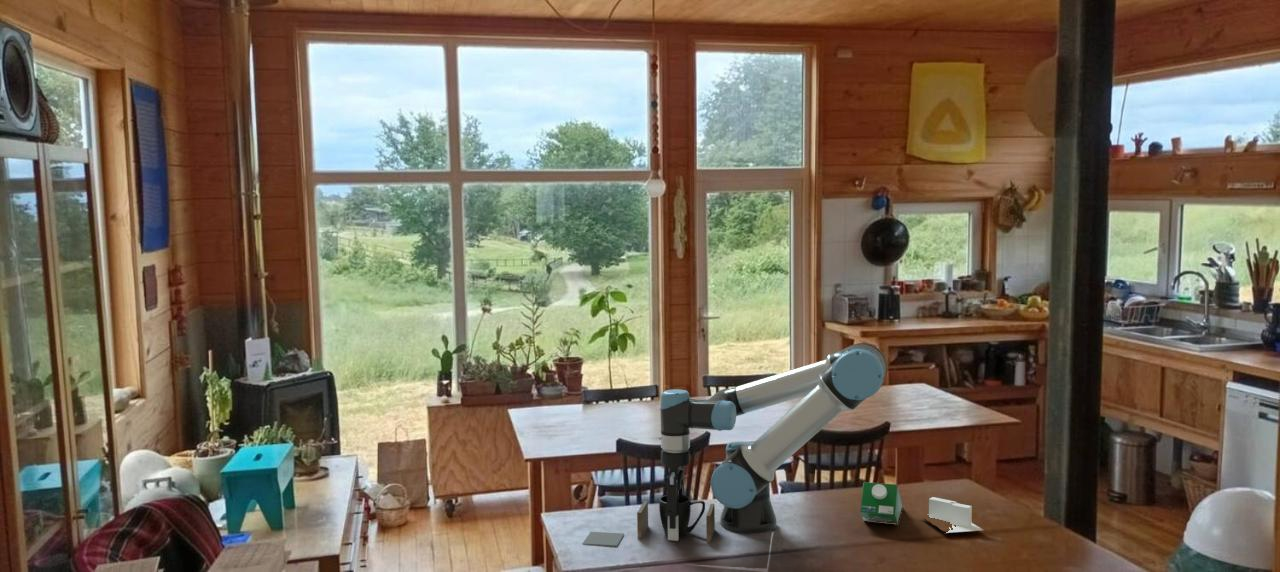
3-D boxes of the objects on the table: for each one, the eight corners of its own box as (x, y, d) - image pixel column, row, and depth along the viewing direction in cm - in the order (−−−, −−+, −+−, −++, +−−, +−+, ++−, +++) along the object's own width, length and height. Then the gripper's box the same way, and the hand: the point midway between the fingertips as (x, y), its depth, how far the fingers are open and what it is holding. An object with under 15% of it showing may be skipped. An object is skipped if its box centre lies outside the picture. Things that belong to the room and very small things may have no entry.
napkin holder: (917, 515, 254) (918, 495, 253) (955, 512, 256) (955, 492, 255) (944, 533, 239) (944, 511, 239) (984, 530, 241) (984, 508, 240)
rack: (714, 529, 243) (714, 503, 242) (710, 542, 233) (710, 515, 233) (644, 526, 246) (644, 500, 246) (637, 538, 237) (637, 512, 236)
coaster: (624, 535, 239) (624, 533, 239) (616, 547, 231) (616, 545, 230) (590, 533, 241) (590, 531, 241) (582, 545, 232) (582, 543, 232)
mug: (705, 540, 235) (704, 503, 234) (658, 539, 236) (658, 503, 235) (705, 529, 243) (705, 494, 243) (660, 528, 244) (660, 494, 244)
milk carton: (903, 508, 265) (896, 481, 244) (901, 539, 261) (895, 515, 240) (871, 505, 268) (862, 479, 248) (869, 536, 264) (860, 511, 244)
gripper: (667, 439, 250) (668, 519, 251) (654, 459, 228) (655, 547, 230) (694, 439, 248) (695, 520, 250) (683, 460, 227) (684, 548, 228)
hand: (676, 533), depth 240 cm, fingers open, 9 cm apart
